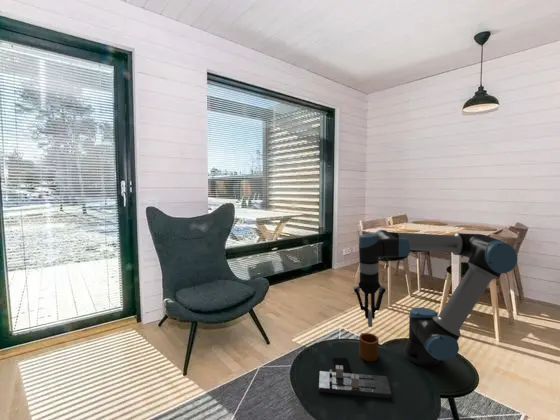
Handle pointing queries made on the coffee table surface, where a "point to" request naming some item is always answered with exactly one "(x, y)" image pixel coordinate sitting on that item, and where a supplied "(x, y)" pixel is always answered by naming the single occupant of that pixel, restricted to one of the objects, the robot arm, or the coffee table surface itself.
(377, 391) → the console
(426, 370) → the coffee table surface
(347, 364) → the smartphone
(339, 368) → the fader
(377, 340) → the mug
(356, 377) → the block
